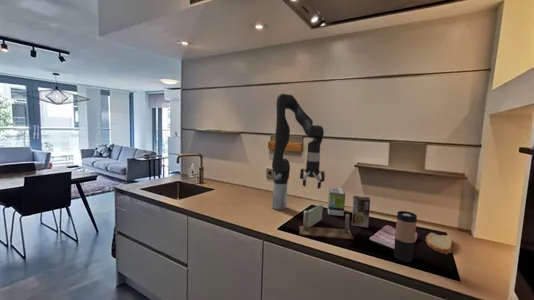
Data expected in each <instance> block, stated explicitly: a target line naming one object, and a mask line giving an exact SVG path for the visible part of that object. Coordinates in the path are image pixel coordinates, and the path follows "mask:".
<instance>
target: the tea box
mask: <svg viewBox="0 0 534 300" xmlns="http://www.w3.org/2000/svg"><path fill="white" fill-rule="evenodd" d="M345 204H346V192H345V189H344V188H341V187H330V186H329V187H328V197H327V214H328V215H329V216H331V215H332V216H339V217H344V215H345Z"/></svg>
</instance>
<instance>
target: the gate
mask: <svg viewBox="0 0 534 300" xmlns="http://www.w3.org/2000/svg"><path fill="white" fill-rule="evenodd" d="M323 207H324V204H322V203H321V204H320V203H319V204H318V205H316V206H314V207H312V208H311V209H309V210H308V211H309V213H308V228H309V227H313V226H314V225H315V224H317V223H318V222H320V221H322V220H323Z"/></svg>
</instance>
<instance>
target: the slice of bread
mask: <svg viewBox="0 0 534 300" xmlns="http://www.w3.org/2000/svg"><path fill="white" fill-rule="evenodd" d="M453 241H454V240H453V239H452V236H451V235H446V234H445V235H443V234H441V235H440V234H437V233H435V232H429V233H428V234H427V235H426V237H425V242H426V245H427V246H428V247H429V248H430V249H432V250H434V251H436V252H438V253H441V254H443V253H445V254H444V255H449V254H448V253H451V254H452V252H453V247H454V242H453Z"/></svg>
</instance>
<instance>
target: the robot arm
mask: <svg viewBox="0 0 534 300" xmlns="http://www.w3.org/2000/svg"><path fill="white" fill-rule="evenodd" d="M275 105H276V106H275V107H276V124H275V125H276V126H275V134H274V135H275V138H274V141H275V142H274V150H273V157H272V163H271V168H272V171H273V172H274V173H275V174H276V175H275V176H274V178H273V190H272V193H273V194H272V204H271V205H272V207H271V209H275V210H279V211H281V210H286V209H287V201H288V200H287V199H288V182H289V179H290V171H291V170H290V169H291V164H290V161H289V160H288V159H287V158H284V153H285V150H286V148H287V145H288V144H289V140H290V136H291V135H290V134H291V128H290V126H289V123H288V121H287V118H286V110H290V111H291V112H292V113H294V118H295V120H296V122H297V123H298V124H299V125H300V127H302V129H303V131H304V134H305V135H306V136H307V137H309V138H311V139H312V140H311V141H309V142H308V143H307V154H306V165H305V168H303V167H302V168H301V169H300V172H299V179H301V180H302V186H303V187H306V186H307V179H308V178H313V179H314V178H315V179H316V181H317V189H318V190H319V189H320V188H321V187H322V183H323V182H325V178H326V177H325V174H326V172H325V170H320V165H321V164H320V163H321V144H322V142H323V138H324V136H325V135H324V133H325V131H324V130H325V129H324V128H323V126H321V125H315V124H314V122H313V120H312V118H311V117H310V116H309V115H308V114H307V113H306V112H305V111H304V110H303V108H302V107H301V105H300V104H299V103H298V101H297V100H296V98H295V96H294V95H292V94H288V93H287V94H286V93H279V94H278V96H277V97H276V104H275ZM313 124H314V125H313ZM305 173H306V174H305ZM304 174H305V175H304ZM319 174H320V176H321V177H320V176H319Z"/></svg>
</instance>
